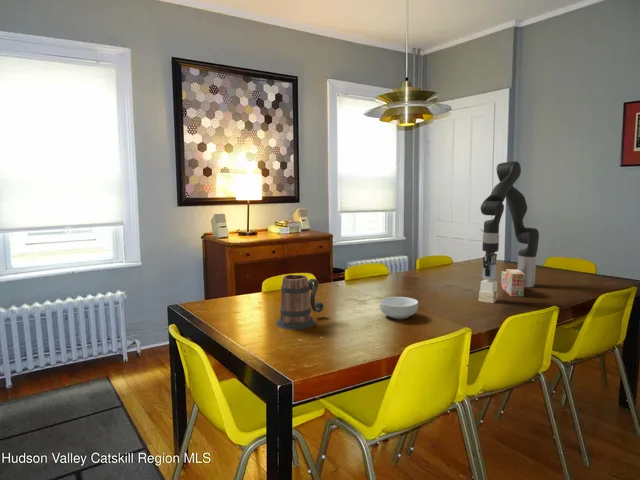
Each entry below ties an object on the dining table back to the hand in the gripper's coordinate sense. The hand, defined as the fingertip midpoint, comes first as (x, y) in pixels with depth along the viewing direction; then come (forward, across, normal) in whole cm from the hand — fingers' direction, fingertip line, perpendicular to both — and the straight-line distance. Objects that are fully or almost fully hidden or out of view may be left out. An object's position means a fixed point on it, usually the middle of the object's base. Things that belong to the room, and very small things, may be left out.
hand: (489, 275), depth 226 cm
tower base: (+13, 0, 0) cm, 13 cm away
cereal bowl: (+13, +52, -22) cm, 58 cm away
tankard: (+13, +84, -51) cm, 99 cm away
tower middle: (+8, 0, 0) cm, 8 cm away
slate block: (+1, 0, 0) cm, 1 cm away
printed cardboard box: (+13, -26, +4) cm, 30 cm away
